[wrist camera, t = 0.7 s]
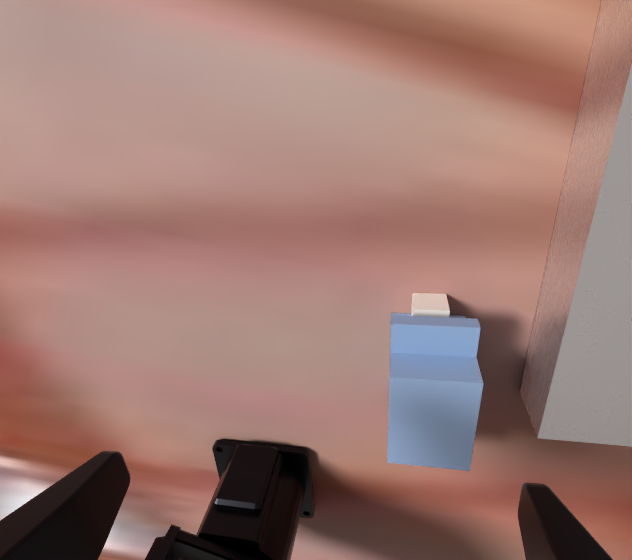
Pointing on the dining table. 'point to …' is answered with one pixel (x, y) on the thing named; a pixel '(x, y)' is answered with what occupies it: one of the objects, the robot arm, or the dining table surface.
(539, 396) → the mount plate
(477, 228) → the dining table surface
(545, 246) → the dining table surface
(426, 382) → the block
